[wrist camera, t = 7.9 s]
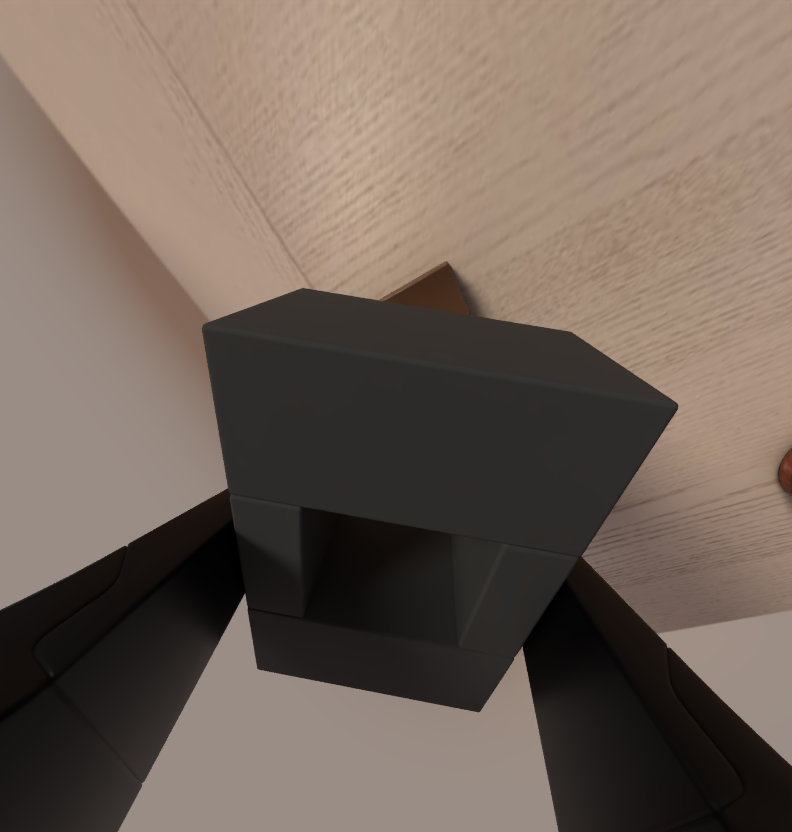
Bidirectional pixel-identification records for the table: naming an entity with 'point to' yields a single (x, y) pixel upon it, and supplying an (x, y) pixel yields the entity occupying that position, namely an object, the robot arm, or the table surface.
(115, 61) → the table surface
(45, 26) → the table surface
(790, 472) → the supplement bottle
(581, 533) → the black sloped block
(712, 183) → the table surface
